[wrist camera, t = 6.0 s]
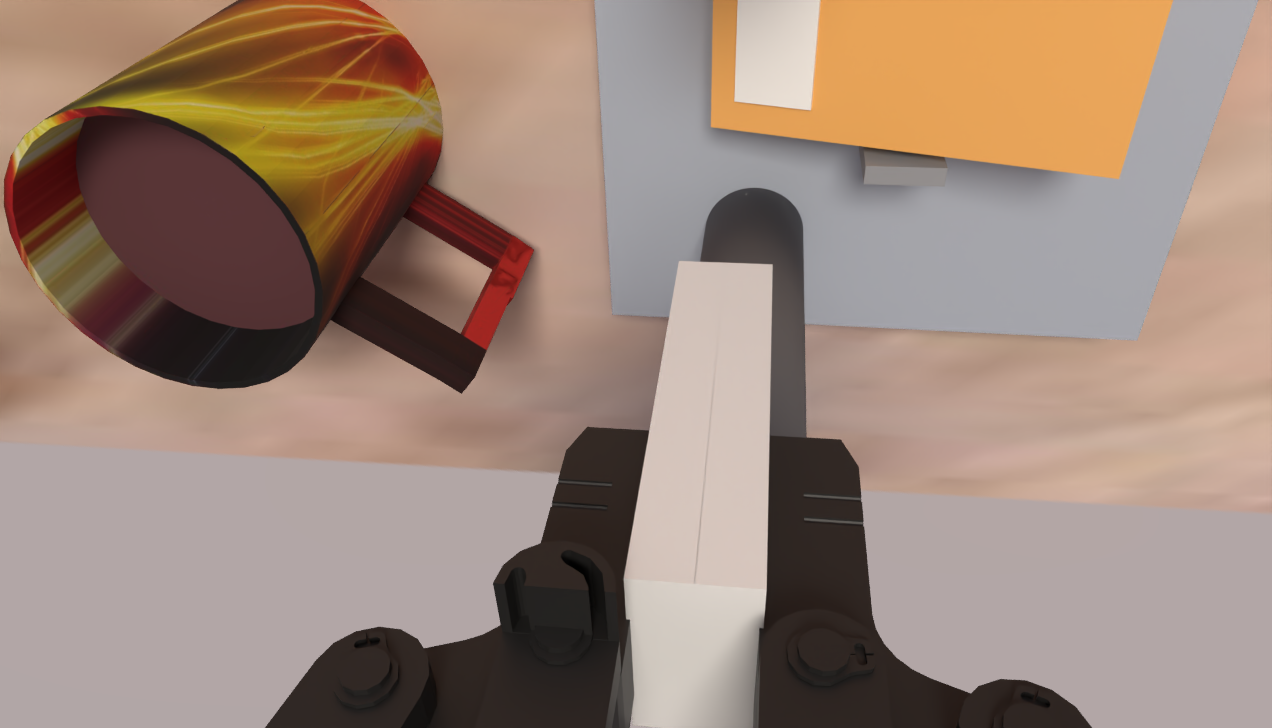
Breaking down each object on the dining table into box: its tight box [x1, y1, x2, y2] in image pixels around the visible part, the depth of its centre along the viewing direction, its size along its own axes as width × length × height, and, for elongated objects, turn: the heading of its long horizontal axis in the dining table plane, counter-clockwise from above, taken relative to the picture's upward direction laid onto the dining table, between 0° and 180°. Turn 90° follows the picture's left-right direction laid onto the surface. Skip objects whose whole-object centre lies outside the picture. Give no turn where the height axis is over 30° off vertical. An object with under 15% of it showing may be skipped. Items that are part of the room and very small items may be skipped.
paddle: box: [711, 0, 1173, 179], centre depth 27 cm, size 12×6×2 cm, turn 92°
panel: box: [595, 0, 1258, 340], centre depth 29 cm, size 20×24×7 cm
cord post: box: [700, 188, 806, 438], centre depth 29 cm, size 4×4×14 cm
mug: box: [4, 0, 534, 394], centre depth 33 cm, size 10×14×12 cm
